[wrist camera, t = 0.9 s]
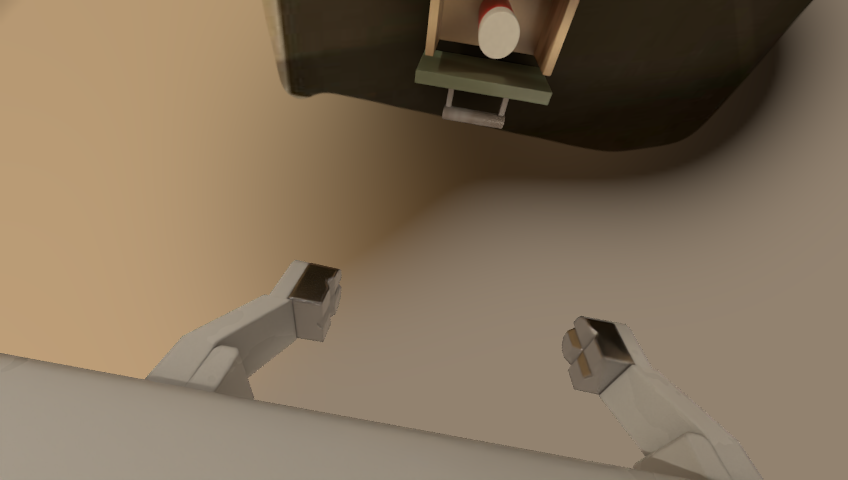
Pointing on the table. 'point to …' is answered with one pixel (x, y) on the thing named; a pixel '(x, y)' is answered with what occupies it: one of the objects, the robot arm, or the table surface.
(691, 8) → the table surface
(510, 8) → the glue stick
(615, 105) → the table surface
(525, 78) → the drawer
